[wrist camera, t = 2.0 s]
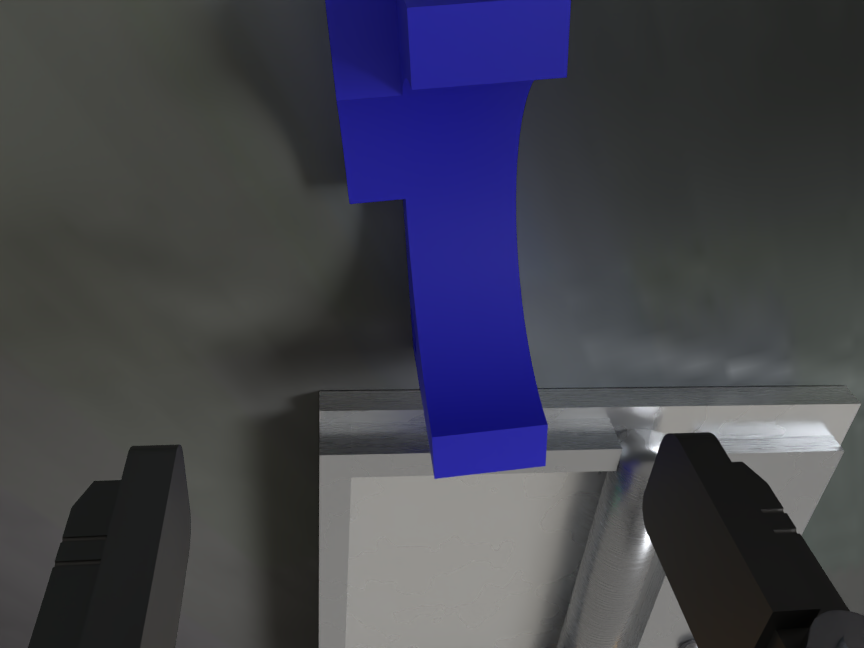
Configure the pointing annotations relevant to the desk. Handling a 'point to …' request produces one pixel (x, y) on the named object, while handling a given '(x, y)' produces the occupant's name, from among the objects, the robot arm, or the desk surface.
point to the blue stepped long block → (453, 198)
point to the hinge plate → (538, 515)
